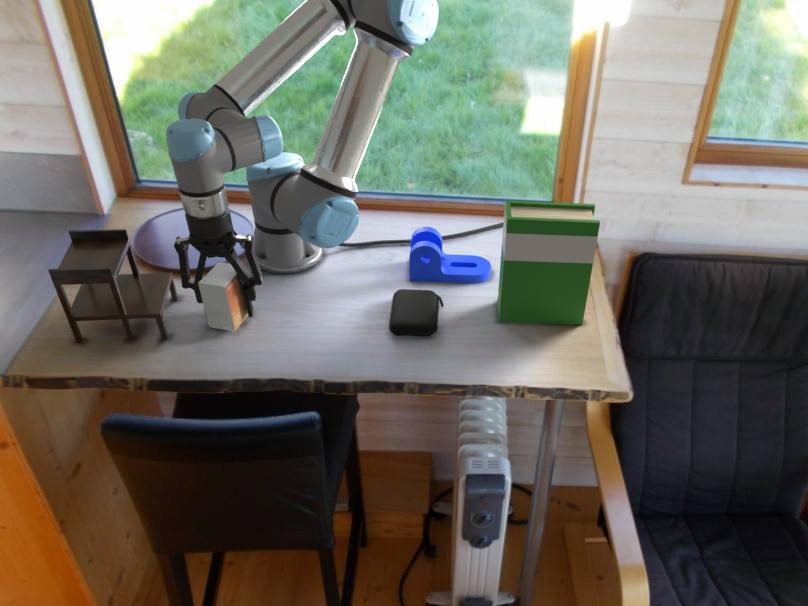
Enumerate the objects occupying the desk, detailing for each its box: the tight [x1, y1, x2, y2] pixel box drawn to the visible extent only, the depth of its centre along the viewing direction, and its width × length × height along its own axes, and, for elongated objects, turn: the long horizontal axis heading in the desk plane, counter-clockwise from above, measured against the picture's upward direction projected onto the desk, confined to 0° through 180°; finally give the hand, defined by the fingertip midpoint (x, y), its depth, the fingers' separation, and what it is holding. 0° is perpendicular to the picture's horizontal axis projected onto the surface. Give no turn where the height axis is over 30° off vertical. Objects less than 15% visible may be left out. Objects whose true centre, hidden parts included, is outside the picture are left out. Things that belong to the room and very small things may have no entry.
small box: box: [198, 261, 249, 332], centre depth 144 cm, size 8×6×10 cm
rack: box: [47, 228, 179, 344], centre depth 140 cm, size 16×14×16 cm
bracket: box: [408, 226, 492, 284], centre depth 164 cm, size 18×8×9 cm, turn 93°
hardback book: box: [497, 199, 601, 325], centre depth 150 cm, size 18×7×24 cm, turn 94°
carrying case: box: [388, 288, 444, 338], centre depth 152 cm, size 11×3×15 cm
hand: (230, 313), depth 147 cm, fingers closed on small box, 7 cm apart
